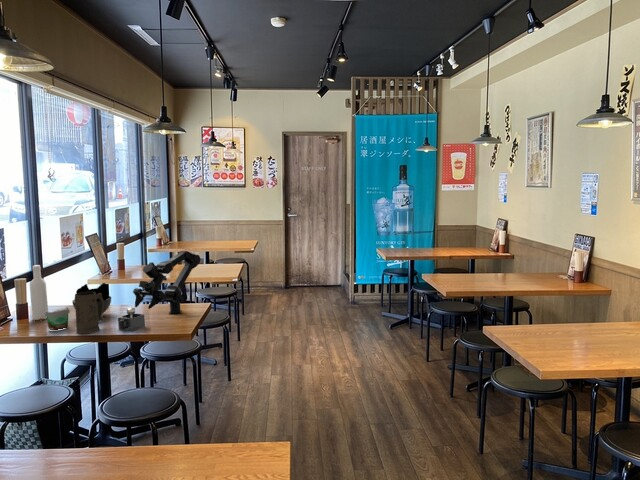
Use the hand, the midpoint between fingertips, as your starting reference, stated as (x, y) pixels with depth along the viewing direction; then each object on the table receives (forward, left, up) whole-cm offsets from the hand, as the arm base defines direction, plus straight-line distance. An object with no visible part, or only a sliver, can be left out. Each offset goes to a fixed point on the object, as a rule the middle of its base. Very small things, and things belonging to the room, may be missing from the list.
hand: (142, 307), depth 272 cm
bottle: (-26, -58, -9) cm, 64 cm away
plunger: (+6, -4, -9) cm, 12 cm away
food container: (-1, -40, -9) cm, 41 cm away
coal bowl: (-24, -30, -9) cm, 40 cm away
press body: (+7, -5, -9) cm, 13 cm away
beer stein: (+4, -24, -9) cm, 26 cm away
